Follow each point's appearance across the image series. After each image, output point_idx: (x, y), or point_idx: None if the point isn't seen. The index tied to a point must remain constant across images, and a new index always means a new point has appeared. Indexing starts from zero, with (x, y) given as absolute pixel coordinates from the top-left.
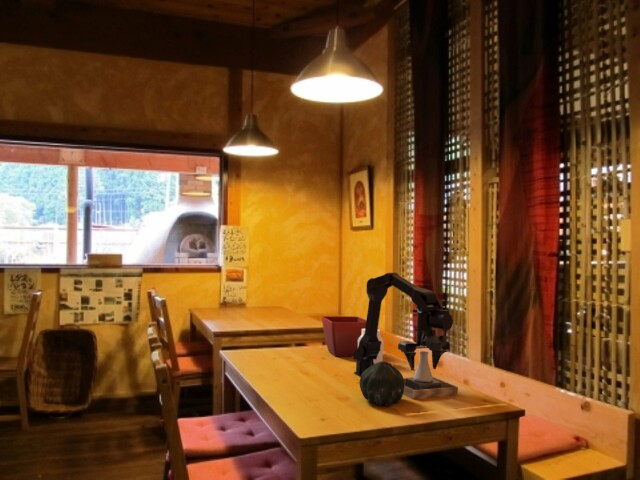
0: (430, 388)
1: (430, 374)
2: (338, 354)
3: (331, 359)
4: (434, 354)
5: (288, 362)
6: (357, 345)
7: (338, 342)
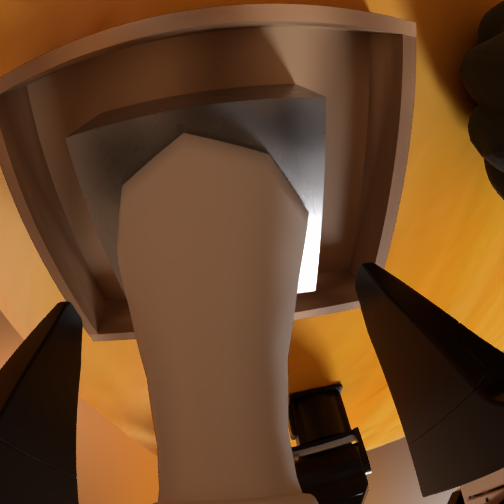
0: (191, 100)
1: (145, 214)
2: None
3: None
4: (43, 466)
5: (393, 421)
6: None
7: None
